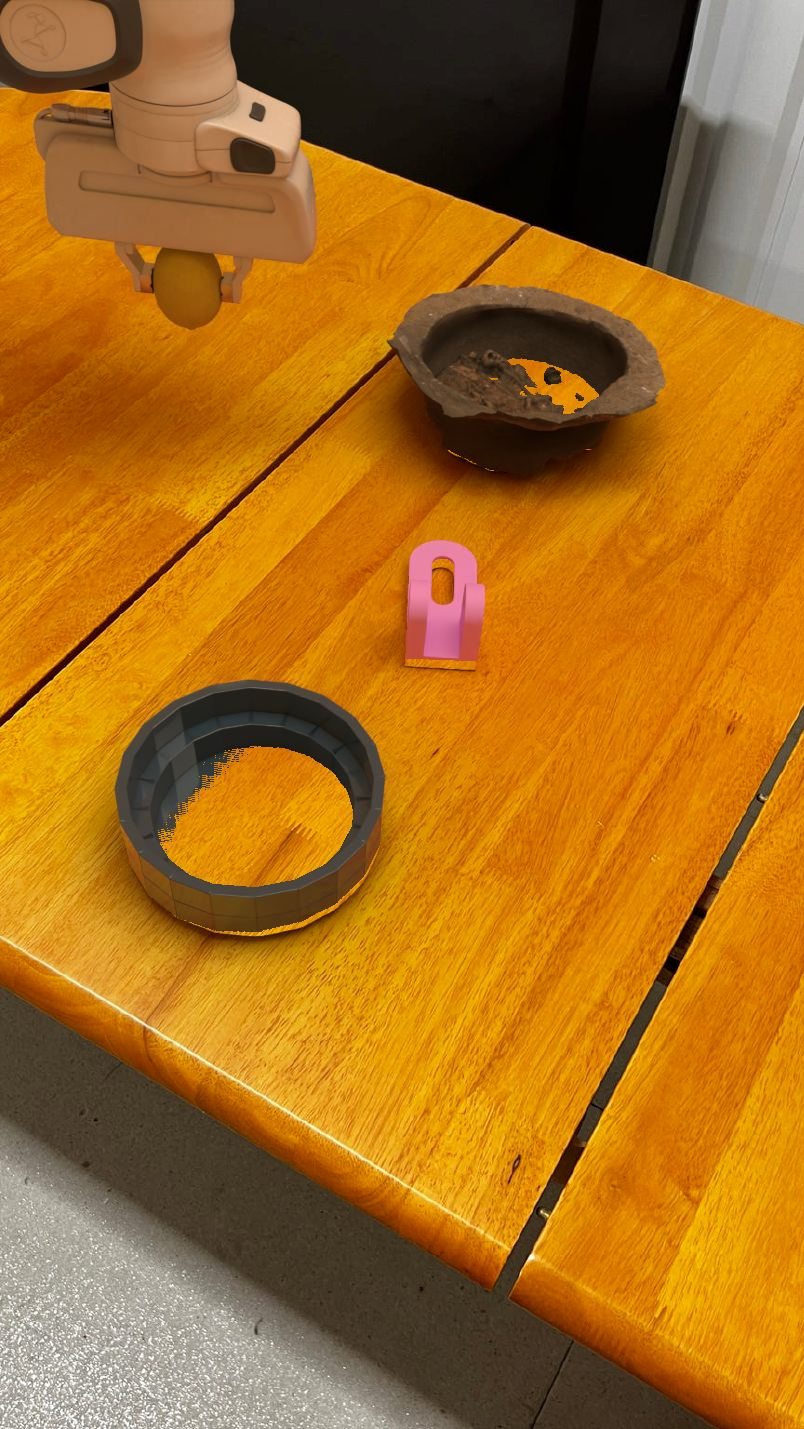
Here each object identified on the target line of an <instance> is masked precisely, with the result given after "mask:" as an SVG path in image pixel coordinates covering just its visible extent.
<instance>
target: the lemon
mask: <svg viewBox="0 0 804 1429" xmlns="http://www.w3.org/2000/svg"><path fill="white" fill-rule="evenodd" d="M154 263H155V265H154V271H153V289H154V294H153V295H154V297H155V300H156V303H157V305H158V307H159V308H158V309H160V311H161V312H162V314H163V316H165V317H166V319H168V321H170V322H172V323H173V324H174V325H176V326H178V327H181V328H184V329H188V330H189V331H195V330H196V329H198V328H201V327H202V328H203V327H204V326H207V325H208V324H210V323H211V322H212V321H214V319H215V318H216V317H217V315H218V313H219V312H220V310H221V307H222V304H223V302H222V301H221V295H222V293H221V287H220V284H221V280H222V276H223V273H222V269H221V266H220V263H219V261H218V259H217V256H216V254H212V253H204V252H195V251H187V250H179V249H170V248H162V247H160V250H159V251H158V253H157V254H156V257H155V260H154Z"/></svg>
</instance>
